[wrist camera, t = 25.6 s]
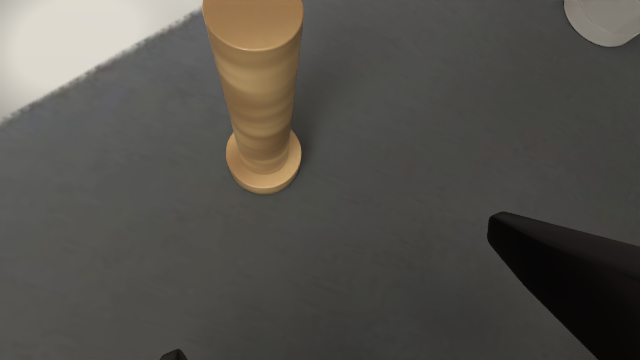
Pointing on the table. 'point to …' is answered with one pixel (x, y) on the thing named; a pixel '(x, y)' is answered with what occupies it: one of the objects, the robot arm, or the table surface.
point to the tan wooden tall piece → (258, 86)
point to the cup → (604, 20)
